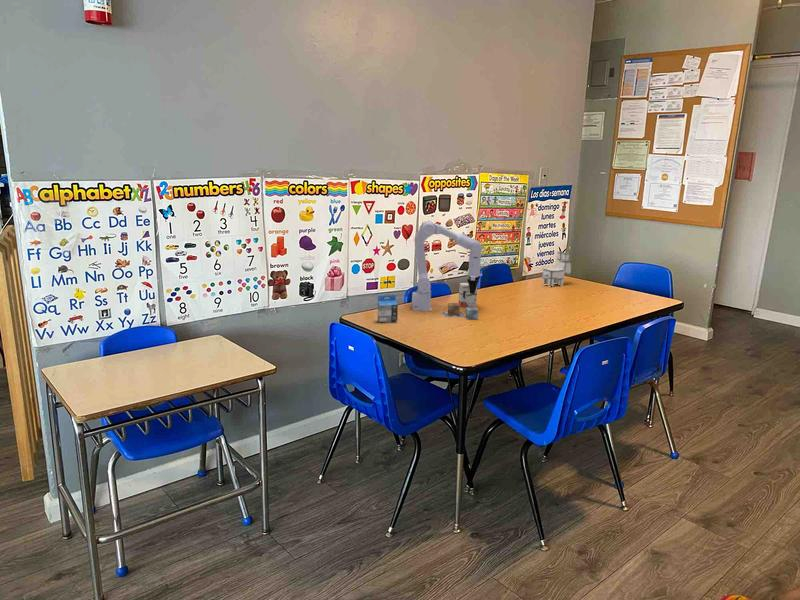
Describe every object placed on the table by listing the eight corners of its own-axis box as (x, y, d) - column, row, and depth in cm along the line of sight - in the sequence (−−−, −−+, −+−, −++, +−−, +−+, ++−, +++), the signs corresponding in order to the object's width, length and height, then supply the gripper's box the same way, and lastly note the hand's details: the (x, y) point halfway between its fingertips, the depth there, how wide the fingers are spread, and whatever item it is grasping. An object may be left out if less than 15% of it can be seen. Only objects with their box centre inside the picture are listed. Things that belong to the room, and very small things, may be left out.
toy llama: (538, 285, 362) (541, 252, 357) (560, 282, 370) (563, 251, 365) (547, 287, 356) (549, 254, 351) (569, 285, 364) (572, 253, 359)
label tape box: (379, 323, 275) (379, 297, 272) (377, 320, 279) (377, 295, 276) (397, 322, 278) (398, 296, 275) (395, 319, 282) (395, 294, 279)
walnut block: (449, 315, 290) (449, 305, 289) (447, 312, 295) (448, 303, 293) (459, 315, 290) (460, 305, 289) (457, 312, 295) (458, 303, 294)
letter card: (445, 317, 287) (445, 317, 287) (441, 312, 297) (441, 311, 297) (465, 317, 288) (465, 317, 288) (461, 311, 298) (461, 311, 298)
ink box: (460, 307, 307) (461, 284, 304) (458, 304, 312) (459, 282, 309) (476, 307, 308) (477, 284, 305) (474, 304, 313) (475, 282, 310)
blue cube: (467, 320, 284) (468, 310, 283) (465, 317, 289) (465, 307, 288) (477, 320, 284) (478, 310, 283) (475, 317, 289) (476, 307, 288)
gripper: (481, 268, 289) (479, 295, 292) (483, 263, 302) (481, 289, 306) (467, 267, 290) (465, 294, 293) (469, 262, 304) (468, 288, 307)
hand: (472, 291), depth 300 cm, fingers open, 7 cm apart
